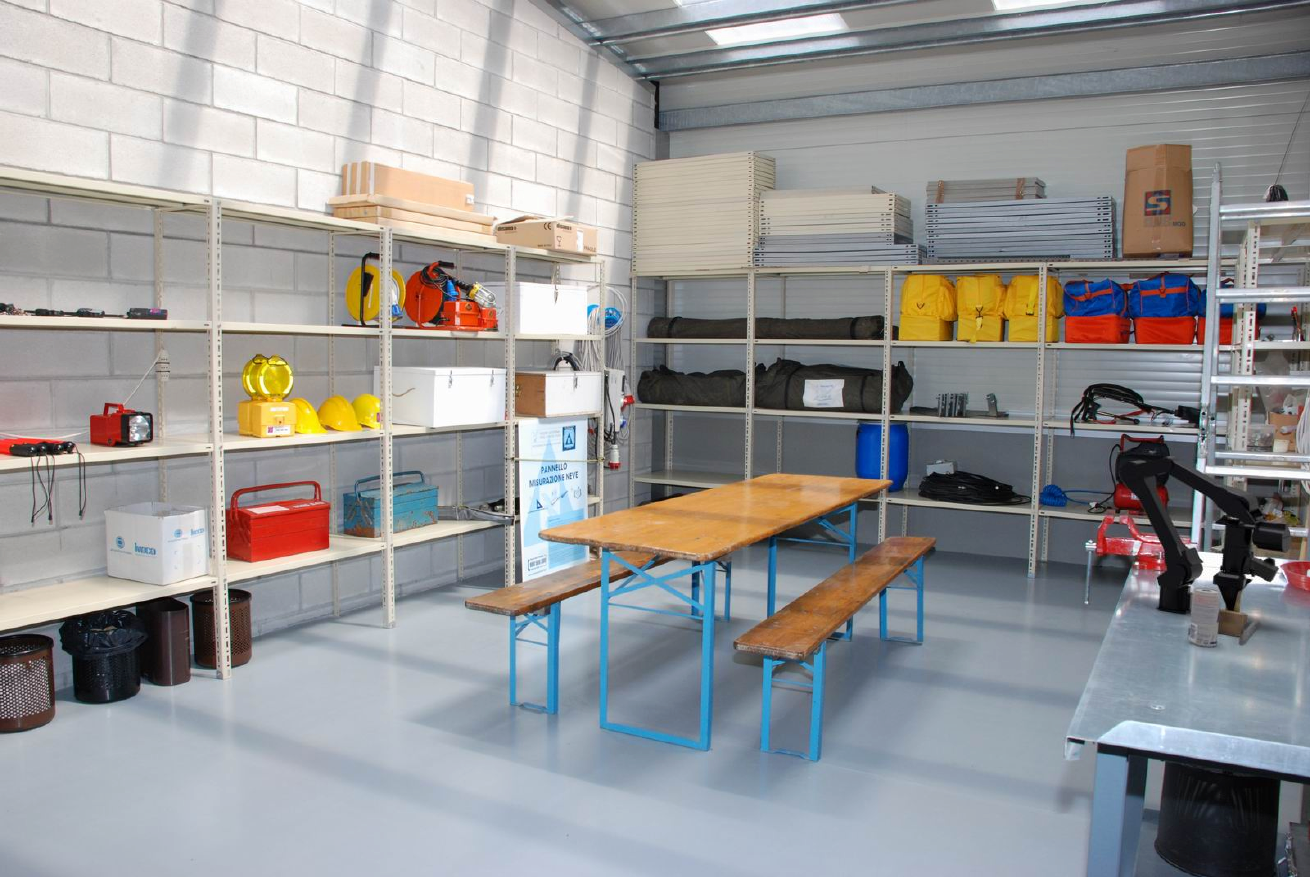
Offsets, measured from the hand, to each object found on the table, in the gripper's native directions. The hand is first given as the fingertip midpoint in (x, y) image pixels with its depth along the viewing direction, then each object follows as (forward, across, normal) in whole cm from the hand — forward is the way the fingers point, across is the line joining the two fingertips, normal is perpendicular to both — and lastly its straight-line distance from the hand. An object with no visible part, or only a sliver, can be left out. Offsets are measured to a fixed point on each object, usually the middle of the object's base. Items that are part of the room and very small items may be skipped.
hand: (1232, 609), depth 233 cm
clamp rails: (+3, -10, 0) cm, 10 cm away
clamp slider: (+3, -6, 0) cm, 6 cm away
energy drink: (+3, -24, +2) cm, 25 cm away
